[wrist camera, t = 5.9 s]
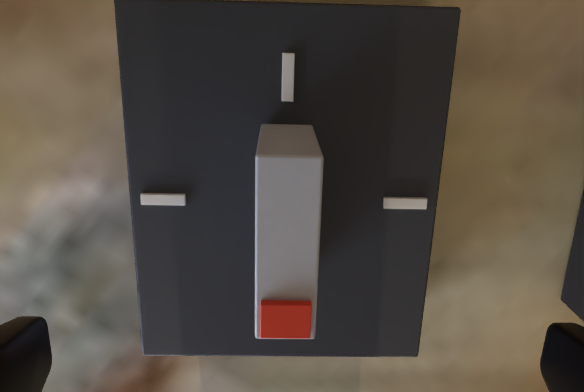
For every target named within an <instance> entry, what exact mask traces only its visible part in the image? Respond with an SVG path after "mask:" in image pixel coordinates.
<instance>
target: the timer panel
mask: <svg viewBox="0 0 584 392" xmlns="http://www.w3.org/2000/svg"><path fill="white" fill-rule="evenodd" d="M114 4H115V17H116V29H117V42H118V54H119V67H120V79H121V91H122V104H123V116H124V129H125V141H126V154H127V166H128V179H129V191H130V203H131V216H132V228H133V241H134V253H135V266H136V278H137V291H138V303H139V315H140V328H141V340H142V353H143V355H163V356H341V357H417V356H418V352H419V343H420V335H421V327H422V319H423V311H424V303H425V295H426V287H427V279H428V271H429V263H430V255H431V246H432V238H433V230H434V222H435V214H436V206H437V198H438V190H439V182H440V174H441V166H442V158H443V149H444V141H445V133H446V125H447V117H448V109H449V101H450V93H451V85H452V77H453V69H454V61H455V52H456V44H457V36H458V28H459V20H460V12H461V10H460V8H459V7H435V6H400V5H365V4H331V3H296V2H261V1H226V0H114ZM262 124H289V125H312V126H313V129H314V132H315V135H316V138H317V141H318V144H319V146H320V149H321V152H322V155H323V158H324V163H323V184H322V205H321V225H320V246H319V267H318V288H317V309H316V330H315V337H314V339H257V338H256V337H255V156H256V151H257V145H258V139H259V134H260V128H261V125H262Z"/></svg>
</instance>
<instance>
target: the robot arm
mask: <svg viewBox="0 0 584 392" xmlns="http://www.w3.org/2000/svg"><path fill="white" fill-rule="evenodd" d="M51 364H52V353H51V347H50V340H49V333H48V326H47V322H46V320H45V319H44V318H42V317H35V316H21V317H17V318H15V319H13V320H11V321H8V322H6V323H4V324H2V325H0V392H42V389H43V387H44V384H45V382H46V379H47V377H48V375H49V372H50V369H51ZM540 368H541V373H542V376H543V379H544V381H545V383H546V385H547V388H548V390H549V392H584V327H583V326H580V325H578V324H576V323H552V324H551V325H550V326H549V327H548V329H547V332H546V337H545V342H544V346H543V351H542V355H541V361H540Z"/></svg>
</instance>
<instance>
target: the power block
mask: <svg viewBox="0 0 584 392" xmlns="http://www.w3.org/2000/svg"><path fill="white" fill-rule="evenodd" d="M561 300H562V301H563V302H564V303H565V304H566V305H567V306H568V307H569V308H570V309H571V310H572V311H573V312H574V313H575V314H576V315H577V316H578V317H579V318H580V319H581V320H582V321H584V192H583V197H582V202H581V206H580V211H579V216H578V220H577V225H576V230H575V234H574V239H573V244H572V248H571V253H570V258H569V263H568V267H567V272H566V277H565V281H564V286H563V291H562V295H561Z"/></svg>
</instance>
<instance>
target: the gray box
mask: <svg viewBox="0 0 584 392" xmlns="http://www.w3.org/2000/svg"><path fill="white" fill-rule="evenodd" d="M323 163H324V158H323V155H322V152H321V149H320V146H319V144H318V141H317V138H316V135H315V132H314V129H313V126H312V125H289V124H262V125H261V128H260V134H259V139H258V145H257V151H256V156H255V337H256V338H257V339H314V337H315V330H316V309H317V288H318V267H319V246H320V225H321V205H322V184H323Z"/></svg>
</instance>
